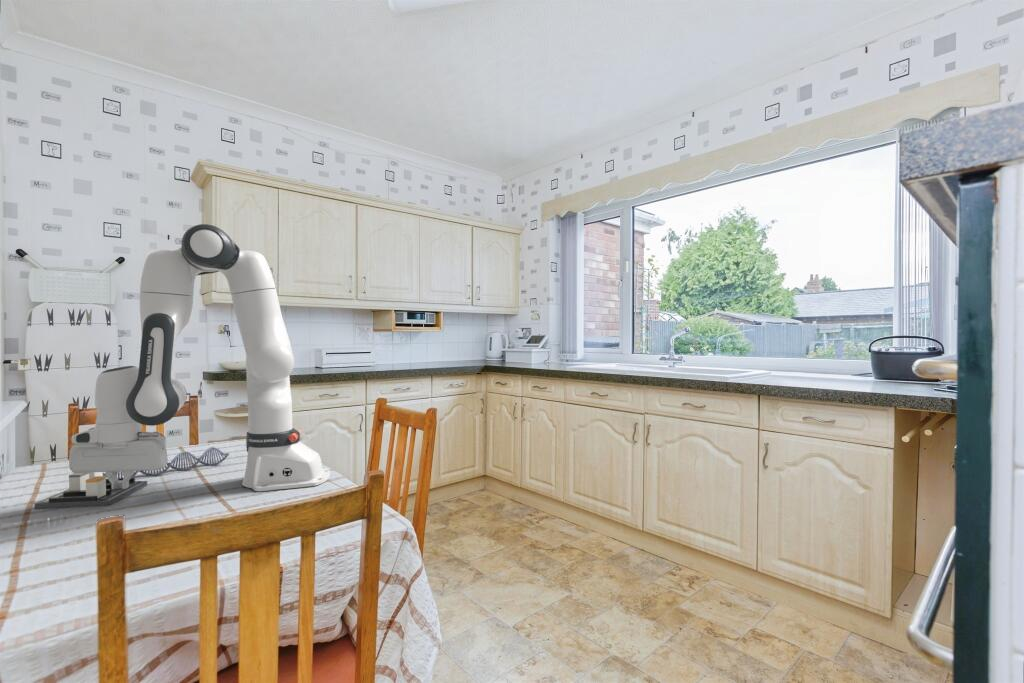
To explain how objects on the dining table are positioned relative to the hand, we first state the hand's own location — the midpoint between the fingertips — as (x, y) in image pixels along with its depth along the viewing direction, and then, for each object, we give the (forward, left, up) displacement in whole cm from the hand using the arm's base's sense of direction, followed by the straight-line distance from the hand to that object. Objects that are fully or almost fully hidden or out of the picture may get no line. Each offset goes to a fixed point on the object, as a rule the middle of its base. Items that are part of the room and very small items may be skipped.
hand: (120, 488), depth 119 cm
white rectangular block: (+13, -5, -2) cm, 14 cm away
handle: (+12, -10, -2) cm, 16 cm away
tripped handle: (+5, 0, -2) cm, 6 cm away
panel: (+9, -5, -3) cm, 11 cm away
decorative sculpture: (+2, -24, -4) cm, 25 cm away
